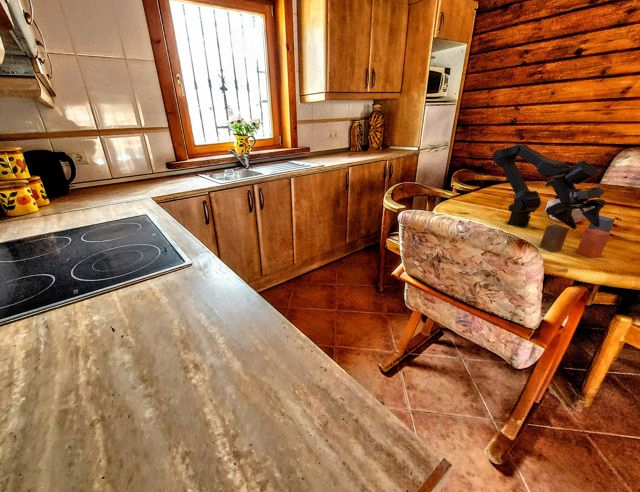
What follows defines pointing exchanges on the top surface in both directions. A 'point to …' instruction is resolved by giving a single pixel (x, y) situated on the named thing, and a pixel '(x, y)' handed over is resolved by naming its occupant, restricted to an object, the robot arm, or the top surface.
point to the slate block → (603, 224)
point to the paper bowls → (575, 213)
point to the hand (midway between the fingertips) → (586, 227)
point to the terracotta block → (593, 242)
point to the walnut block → (554, 237)
